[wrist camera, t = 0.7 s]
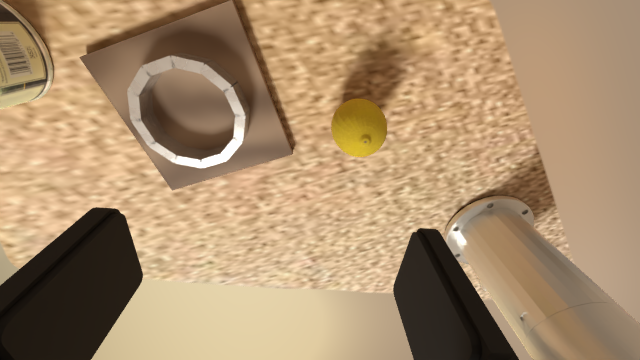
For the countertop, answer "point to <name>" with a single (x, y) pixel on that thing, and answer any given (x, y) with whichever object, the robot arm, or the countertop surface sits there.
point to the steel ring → (151, 126)
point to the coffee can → (21, 60)
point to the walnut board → (196, 92)
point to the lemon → (359, 127)
